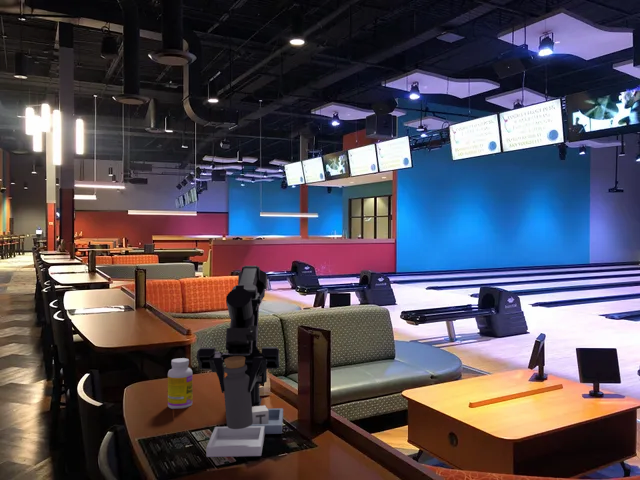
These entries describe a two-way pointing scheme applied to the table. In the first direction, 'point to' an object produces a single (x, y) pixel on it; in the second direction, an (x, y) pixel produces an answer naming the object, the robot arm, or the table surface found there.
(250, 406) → the bottle
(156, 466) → the table surface
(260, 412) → the white cube
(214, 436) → the grey tray
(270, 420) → the blue tray
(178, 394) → the supplement bottle
